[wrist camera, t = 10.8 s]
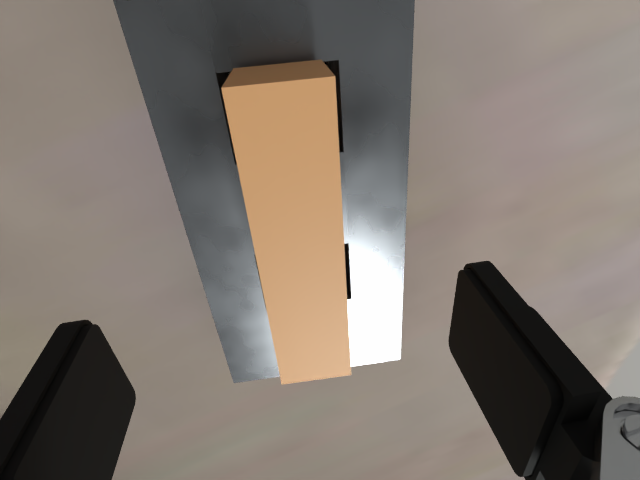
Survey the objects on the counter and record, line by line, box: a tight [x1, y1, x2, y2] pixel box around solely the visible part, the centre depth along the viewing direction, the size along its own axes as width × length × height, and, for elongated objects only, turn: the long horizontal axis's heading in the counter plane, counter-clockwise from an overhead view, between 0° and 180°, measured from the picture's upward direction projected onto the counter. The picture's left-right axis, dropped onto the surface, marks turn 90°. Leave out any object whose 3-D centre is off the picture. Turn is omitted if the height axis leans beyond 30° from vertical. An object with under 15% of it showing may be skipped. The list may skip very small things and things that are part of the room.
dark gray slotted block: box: [113, 0, 415, 383], centre depth 19 cm, size 22×10×4 cm, turn 5°
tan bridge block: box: [221, 60, 351, 384], centre depth 17 cm, size 12×3×8 cm, turn 4°
